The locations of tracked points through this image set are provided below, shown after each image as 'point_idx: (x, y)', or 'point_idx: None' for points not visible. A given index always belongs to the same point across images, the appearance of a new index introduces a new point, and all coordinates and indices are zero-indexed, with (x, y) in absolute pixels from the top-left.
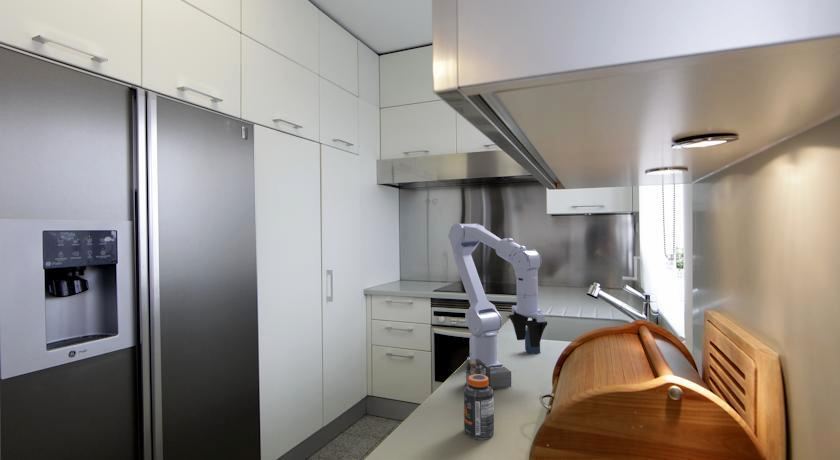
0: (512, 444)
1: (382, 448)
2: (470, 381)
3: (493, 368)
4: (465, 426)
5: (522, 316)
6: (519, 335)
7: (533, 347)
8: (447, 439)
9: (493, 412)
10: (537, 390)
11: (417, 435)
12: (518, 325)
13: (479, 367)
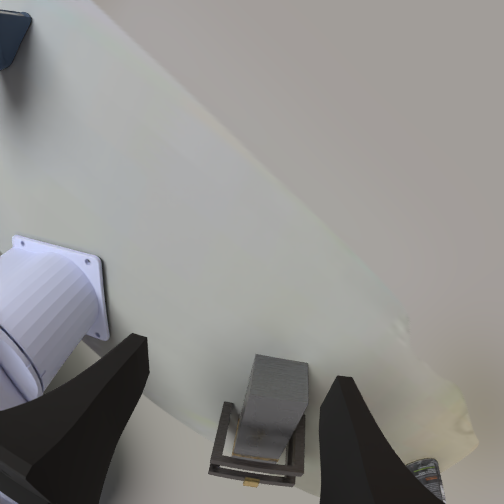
0: (466, 448)
1: None
2: None
3: (248, 421)
4: None
5: (63, 495)
6: (136, 389)
7: (3, 42)
8: None
9: (442, 486)
10: (384, 320)
11: None
12: (104, 449)
13: (287, 483)
